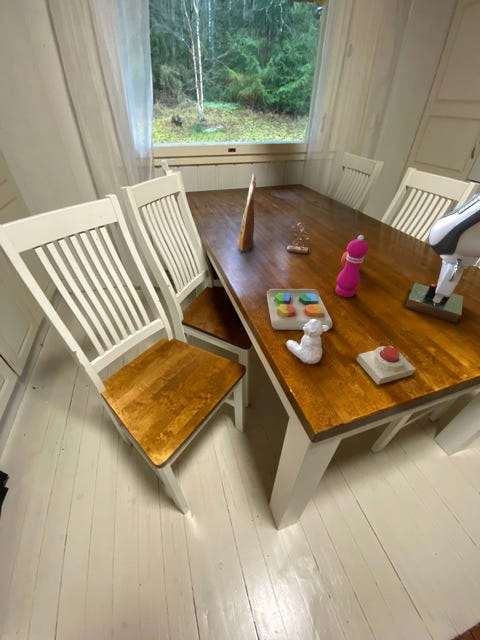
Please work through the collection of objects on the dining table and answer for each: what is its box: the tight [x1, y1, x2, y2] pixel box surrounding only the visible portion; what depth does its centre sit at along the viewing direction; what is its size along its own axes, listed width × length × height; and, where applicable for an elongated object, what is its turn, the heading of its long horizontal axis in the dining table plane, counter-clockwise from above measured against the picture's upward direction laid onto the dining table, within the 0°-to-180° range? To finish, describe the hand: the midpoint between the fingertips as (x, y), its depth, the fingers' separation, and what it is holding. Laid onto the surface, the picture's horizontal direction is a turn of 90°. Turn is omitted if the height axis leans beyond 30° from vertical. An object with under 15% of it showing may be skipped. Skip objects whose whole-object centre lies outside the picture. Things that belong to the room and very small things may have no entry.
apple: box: [340, 250, 365, 269], centre depth 104 cm, size 8×8×8 cm
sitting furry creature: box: [285, 319, 329, 365], centre depth 66 cm, size 10×9×12 cm
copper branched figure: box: [286, 222, 310, 254], centre depth 115 cm, size 9×4×12 cm, turn 77°
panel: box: [404, 282, 464, 323], centre depth 87 cm, size 14×12×3 cm
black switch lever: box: [426, 283, 451, 302], centre depth 85 cm, size 6×2×4 cm, turn 55°
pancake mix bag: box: [238, 172, 257, 253], centre depth 114 cm, size 7×19×28 cm, turn 171°
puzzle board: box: [266, 288, 333, 331], centre depth 83 cm, size 18×19×4 cm
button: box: [381, 346, 401, 363], centre depth 64 cm, size 4×4×2 cm
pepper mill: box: [335, 234, 370, 298], centre depth 87 cm, size 7×7×20 cm
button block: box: [356, 345, 417, 386], centre depth 66 cm, size 10×8×4 cm
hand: (437, 294), depth 85 cm, fingers open, 7 cm apart
